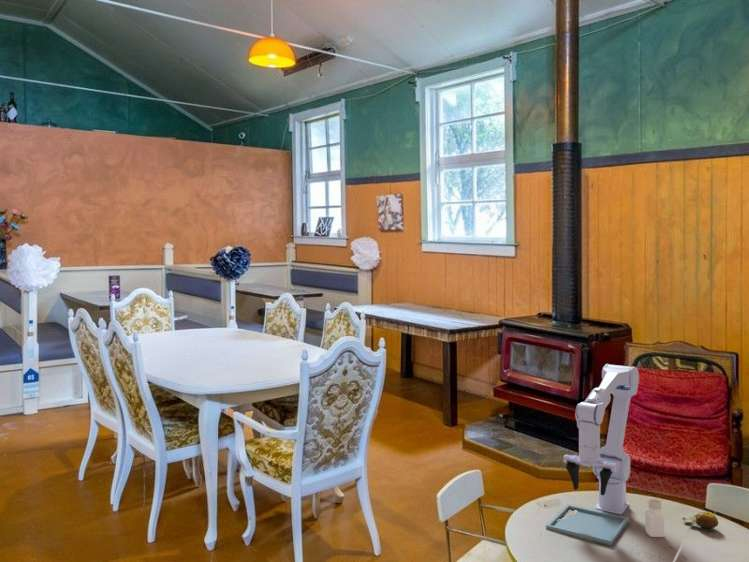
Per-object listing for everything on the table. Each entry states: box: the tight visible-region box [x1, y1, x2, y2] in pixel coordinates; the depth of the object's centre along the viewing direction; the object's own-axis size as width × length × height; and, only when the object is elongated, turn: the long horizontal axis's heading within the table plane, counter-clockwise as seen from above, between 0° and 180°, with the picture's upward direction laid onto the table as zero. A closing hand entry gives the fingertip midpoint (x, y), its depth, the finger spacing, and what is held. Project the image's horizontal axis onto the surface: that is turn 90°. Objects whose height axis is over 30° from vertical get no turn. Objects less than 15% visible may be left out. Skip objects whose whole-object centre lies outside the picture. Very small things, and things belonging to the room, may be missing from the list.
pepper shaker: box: [644, 498, 665, 538], centre depth 177 cm, size 4×4×10 cm
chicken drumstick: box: [682, 511, 719, 530], centre depth 183 cm, size 8×8×4 cm
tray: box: [545, 504, 629, 547], centre depth 183 cm, size 18×18×2 cm
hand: (589, 491), depth 182 cm, fingers open, 7 cm apart
